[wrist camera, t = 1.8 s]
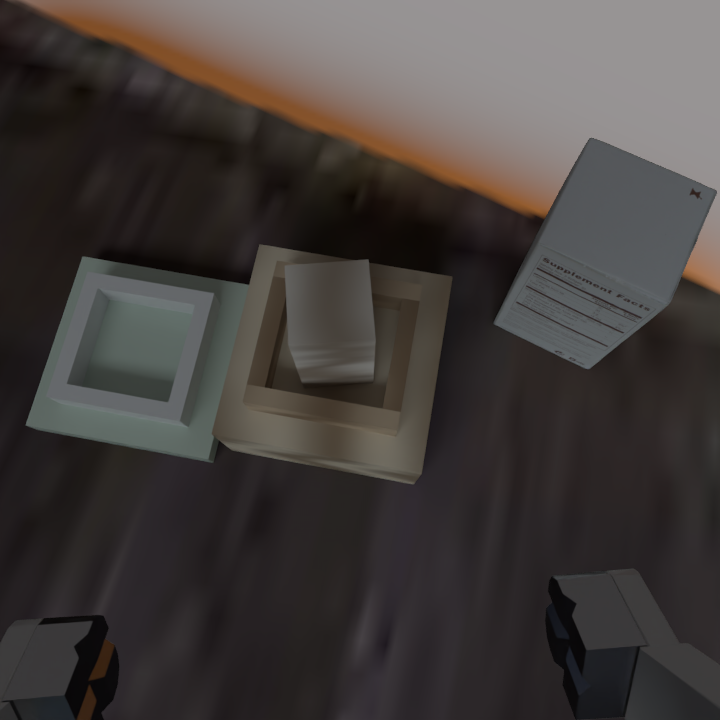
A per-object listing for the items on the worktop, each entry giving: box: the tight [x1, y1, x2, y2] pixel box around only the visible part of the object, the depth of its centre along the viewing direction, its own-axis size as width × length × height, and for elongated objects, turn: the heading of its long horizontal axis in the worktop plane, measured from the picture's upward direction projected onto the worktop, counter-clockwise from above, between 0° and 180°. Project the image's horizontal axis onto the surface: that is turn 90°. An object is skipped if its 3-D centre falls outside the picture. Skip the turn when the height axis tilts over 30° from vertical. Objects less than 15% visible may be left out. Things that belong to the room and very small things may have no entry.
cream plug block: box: [285, 259, 376, 388], centre depth 34 cm, size 4×4×8 cm
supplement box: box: [494, 138, 717, 369], centre depth 39 cm, size 7×7×13 cm
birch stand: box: [212, 245, 453, 484], centre depth 40 cm, size 12×12×8 cm
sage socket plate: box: [26, 257, 249, 463], centre depth 42 cm, size 12×12×4 cm
